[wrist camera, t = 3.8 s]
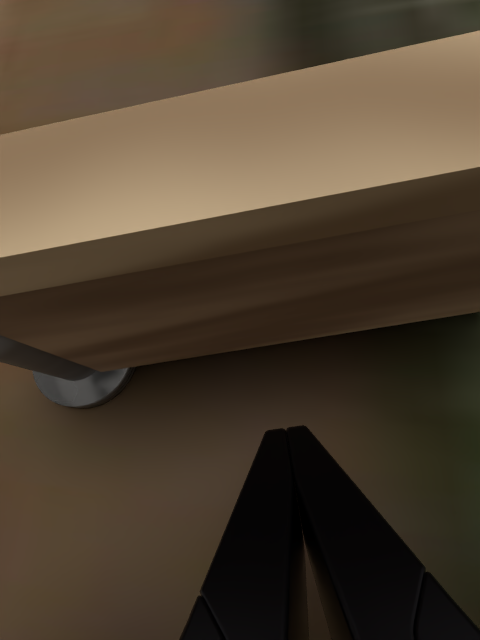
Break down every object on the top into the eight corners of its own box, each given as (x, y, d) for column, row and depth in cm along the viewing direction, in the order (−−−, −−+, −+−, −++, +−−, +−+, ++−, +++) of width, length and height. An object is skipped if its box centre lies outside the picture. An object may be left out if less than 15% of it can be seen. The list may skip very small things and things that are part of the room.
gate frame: (866, 289, 13) (1306, 175, 7) (41, 414, 15) (-100, 400, 10) (789, 190, 14) (1108, 31, 9) (46, 319, 17) (-75, 258, 11)
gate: (498, 316, 13) (882, 90, 5) (50, 387, 15) (-289, 311, 6) (474, 255, 14) (763, -32, 6) (52, 327, 16) (-241, 187, 7)
